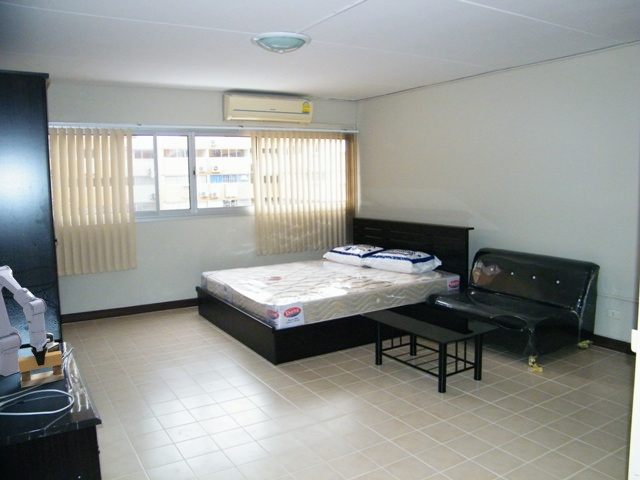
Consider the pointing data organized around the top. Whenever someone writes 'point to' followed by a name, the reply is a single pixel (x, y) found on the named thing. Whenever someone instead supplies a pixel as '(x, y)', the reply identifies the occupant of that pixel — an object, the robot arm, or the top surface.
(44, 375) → the display stand
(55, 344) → the medicine bottle
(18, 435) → the top surface
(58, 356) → the amber bar
